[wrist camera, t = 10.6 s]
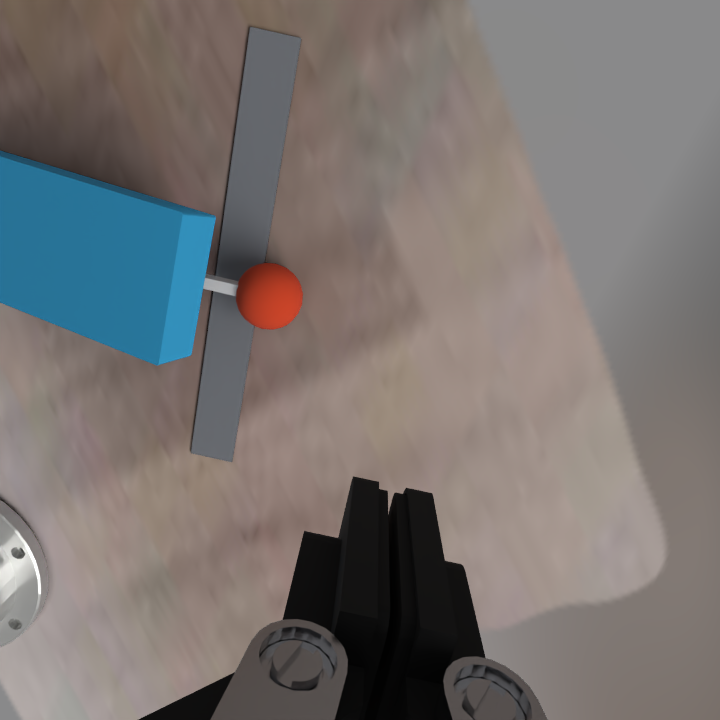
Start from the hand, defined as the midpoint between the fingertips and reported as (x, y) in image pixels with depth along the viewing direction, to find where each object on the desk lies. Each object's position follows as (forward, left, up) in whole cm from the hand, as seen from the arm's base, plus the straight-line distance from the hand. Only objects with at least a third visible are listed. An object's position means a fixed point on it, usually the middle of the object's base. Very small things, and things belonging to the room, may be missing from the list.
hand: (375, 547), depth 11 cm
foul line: (+2, +8, -20) cm, 21 cm away
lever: (+1, +14, -20) cm, 24 cm away
